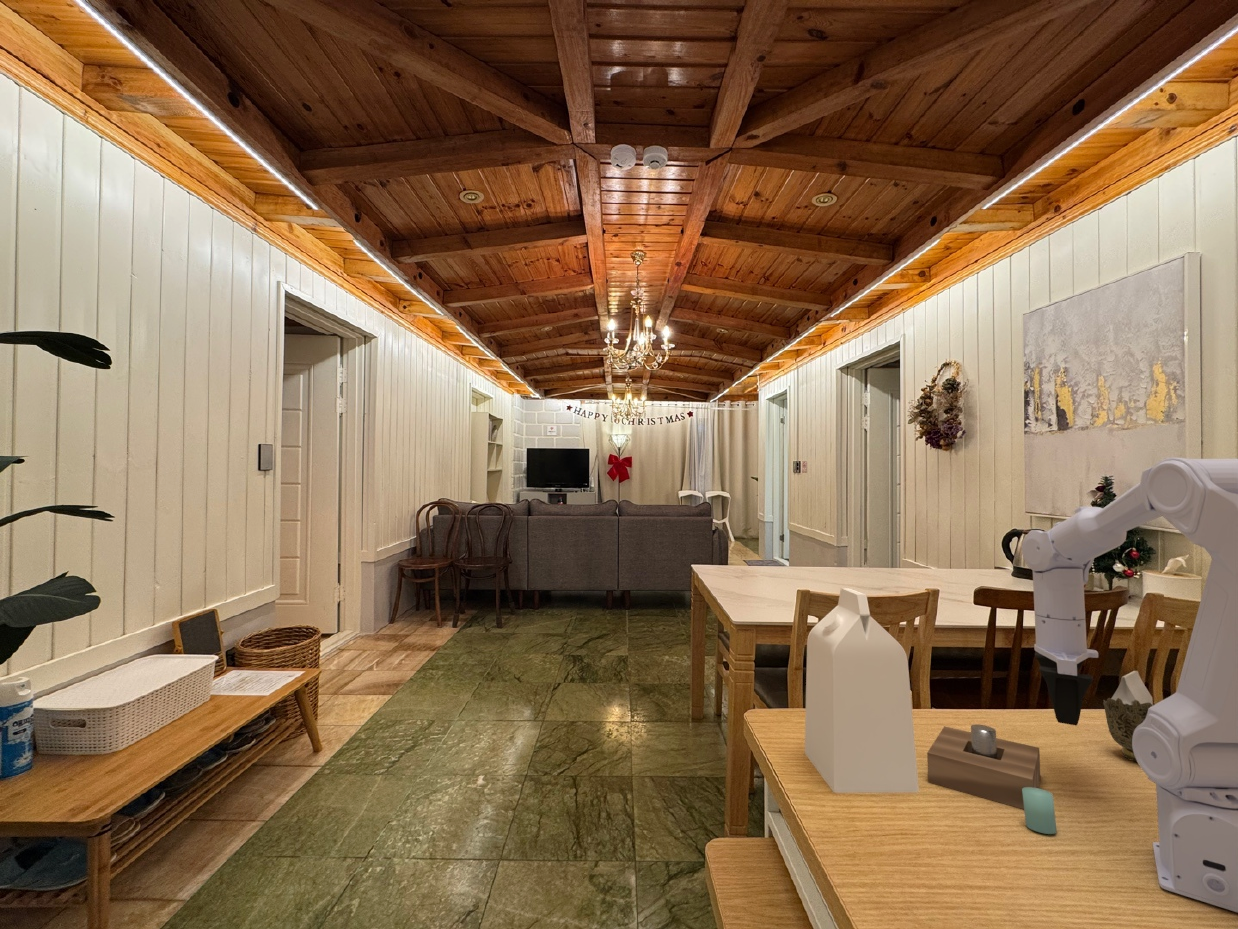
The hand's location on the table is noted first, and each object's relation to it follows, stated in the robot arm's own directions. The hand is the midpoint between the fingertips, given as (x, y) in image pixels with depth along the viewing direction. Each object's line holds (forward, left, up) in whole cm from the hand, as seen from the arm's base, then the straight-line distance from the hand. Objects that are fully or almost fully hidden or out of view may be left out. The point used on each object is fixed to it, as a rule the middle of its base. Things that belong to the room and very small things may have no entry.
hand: (1064, 714), depth 80 cm
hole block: (-6, +9, -9) cm, 14 cm away
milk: (-15, +24, -10) cm, 30 cm away
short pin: (-16, +2, -9) cm, 19 cm away
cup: (+16, -8, -10) cm, 20 cm away
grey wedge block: (+28, -8, -10) cm, 31 cm away
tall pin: (-6, +9, -9) cm, 14 cm away
